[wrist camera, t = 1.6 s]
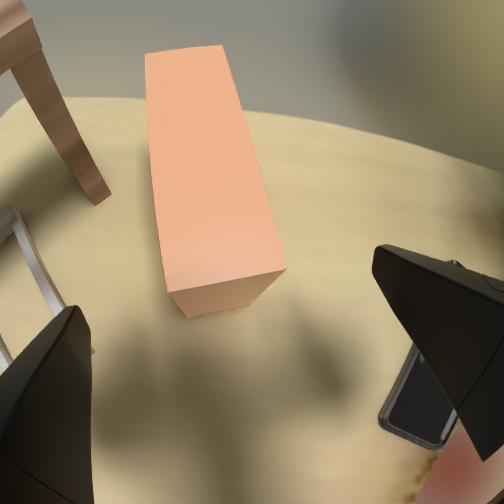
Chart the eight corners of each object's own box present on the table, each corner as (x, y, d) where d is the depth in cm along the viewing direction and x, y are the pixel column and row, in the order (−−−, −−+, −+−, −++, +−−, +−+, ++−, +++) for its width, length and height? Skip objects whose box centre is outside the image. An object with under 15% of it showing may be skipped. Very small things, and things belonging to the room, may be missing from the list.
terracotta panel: (249, 305, 20) (286, 269, 11) (187, 317, 19) (167, 292, 10) (213, 149, 23) (222, 44, 14) (162, 157, 22) (145, 54, 13)
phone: (497, 299, 22) (440, 453, 17) (490, 301, 23) (432, 450, 19) (449, 253, 23) (377, 425, 18) (441, 257, 24) (369, 422, 19)
